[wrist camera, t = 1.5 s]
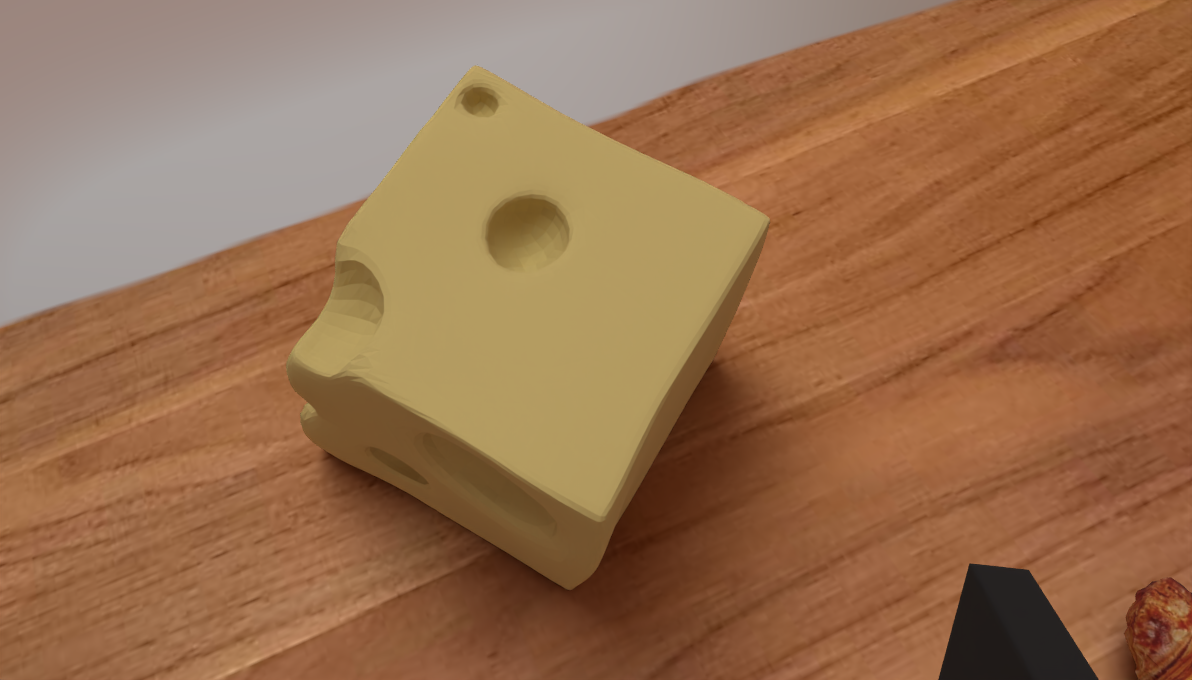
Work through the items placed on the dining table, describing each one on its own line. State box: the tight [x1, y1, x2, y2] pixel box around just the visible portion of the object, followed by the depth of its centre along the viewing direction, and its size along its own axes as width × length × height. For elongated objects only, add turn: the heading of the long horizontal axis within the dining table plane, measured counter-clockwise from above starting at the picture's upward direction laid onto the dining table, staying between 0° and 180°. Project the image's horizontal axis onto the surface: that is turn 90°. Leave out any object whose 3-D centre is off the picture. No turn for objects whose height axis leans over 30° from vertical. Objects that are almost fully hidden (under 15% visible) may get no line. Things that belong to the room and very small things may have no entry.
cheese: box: [286, 66, 770, 590], centre depth 33 cm, size 10×11×10 cm
